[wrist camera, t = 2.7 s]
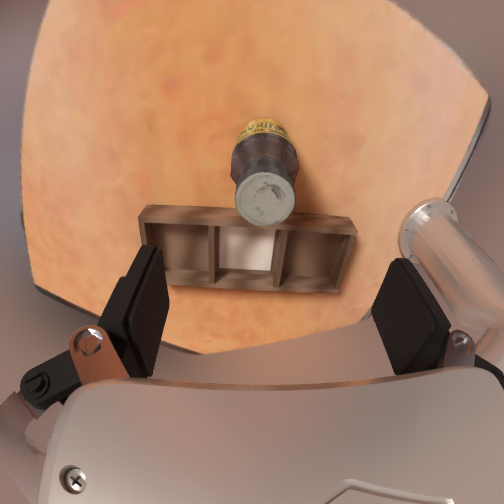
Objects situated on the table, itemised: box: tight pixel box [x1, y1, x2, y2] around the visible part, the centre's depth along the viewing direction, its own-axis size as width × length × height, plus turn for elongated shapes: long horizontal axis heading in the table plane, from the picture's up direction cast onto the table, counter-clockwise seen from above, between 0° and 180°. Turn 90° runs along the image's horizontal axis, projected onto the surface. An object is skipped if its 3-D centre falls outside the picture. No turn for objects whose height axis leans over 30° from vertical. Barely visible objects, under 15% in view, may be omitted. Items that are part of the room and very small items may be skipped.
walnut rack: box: [138, 205, 357, 293], centre depth 42 cm, size 30×12×4 cm, turn 86°
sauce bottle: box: [230, 118, 299, 227], centre depth 26 cm, size 7×6×20 cm
